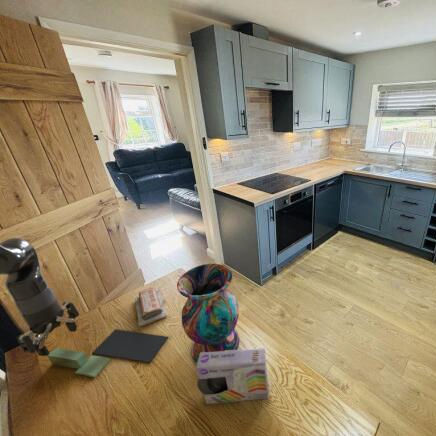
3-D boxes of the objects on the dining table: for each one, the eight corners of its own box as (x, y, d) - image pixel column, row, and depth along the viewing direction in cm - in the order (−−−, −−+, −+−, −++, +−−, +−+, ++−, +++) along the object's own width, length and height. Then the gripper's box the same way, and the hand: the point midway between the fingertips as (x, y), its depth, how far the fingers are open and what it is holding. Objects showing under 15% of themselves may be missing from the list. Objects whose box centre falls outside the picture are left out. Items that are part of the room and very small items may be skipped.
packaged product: (132, 292, 104) (158, 283, 109) (135, 300, 106) (160, 292, 111) (136, 319, 90) (165, 308, 96) (139, 328, 92) (167, 316, 98)
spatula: (47, 369, 77) (41, 360, 75) (65, 352, 83) (60, 343, 81) (94, 377, 75) (90, 368, 73) (110, 359, 81) (106, 350, 79)
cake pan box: (201, 406, 68) (191, 366, 61) (206, 388, 73) (197, 349, 66) (268, 402, 70) (266, 362, 62) (268, 384, 74) (266, 345, 67)
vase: (240, 320, 97) (234, 258, 84) (243, 362, 81) (236, 293, 68) (192, 328, 93) (179, 265, 80) (185, 375, 76) (167, 304, 64)
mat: (92, 353, 82) (92, 352, 82) (115, 329, 92) (115, 329, 91) (150, 362, 80) (149, 362, 80) (168, 337, 89) (168, 336, 89)
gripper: (52, 285, 75) (71, 322, 82) (-4, 321, 63) (24, 361, 69) (73, 288, 75) (90, 325, 81) (20, 325, 62) (46, 365, 68)
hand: (60, 342), depth 75 cm, fingers open, 8 cm apart
